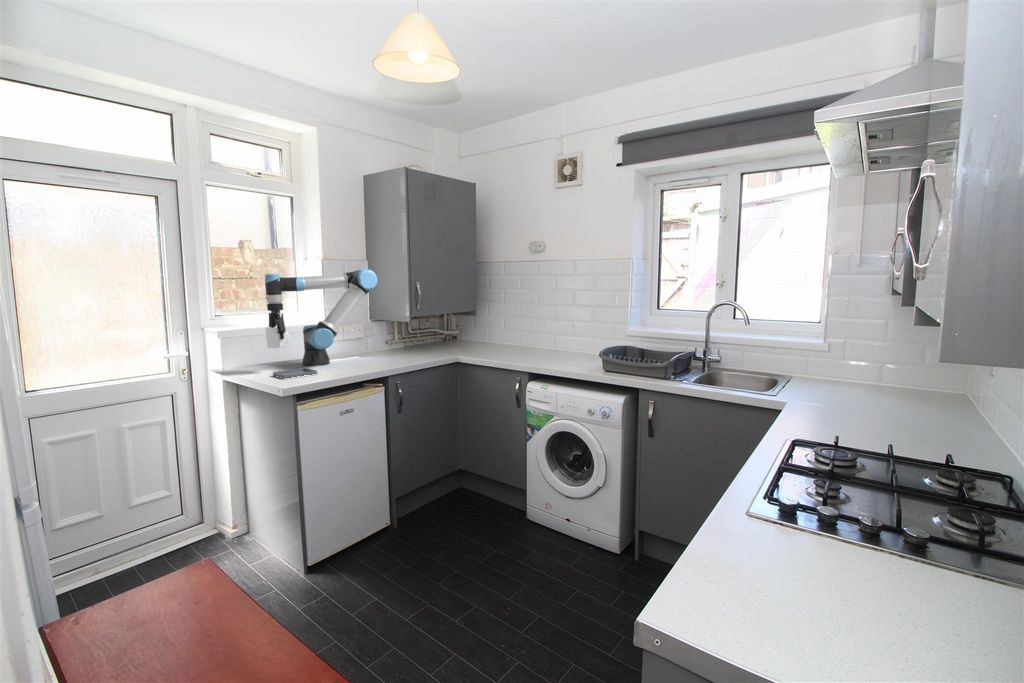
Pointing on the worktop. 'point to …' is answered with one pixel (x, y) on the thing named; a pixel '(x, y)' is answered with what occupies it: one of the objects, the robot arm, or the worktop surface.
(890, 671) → the worktop surface
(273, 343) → the mug
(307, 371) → the holder tray
